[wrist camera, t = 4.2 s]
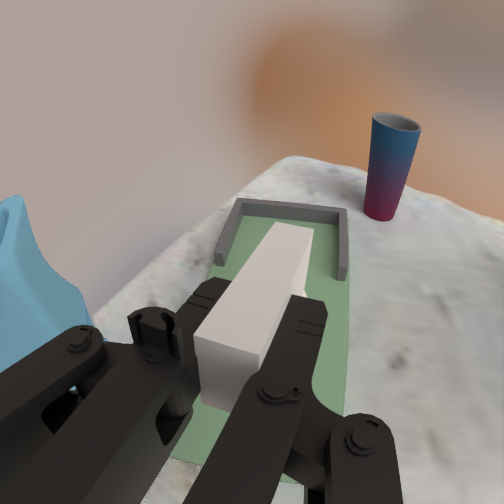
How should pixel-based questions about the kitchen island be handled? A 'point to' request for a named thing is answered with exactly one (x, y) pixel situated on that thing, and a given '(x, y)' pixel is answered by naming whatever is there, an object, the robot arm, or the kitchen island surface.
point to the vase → (30, 290)
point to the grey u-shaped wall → (288, 213)
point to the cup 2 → (389, 163)
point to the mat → (333, 342)
